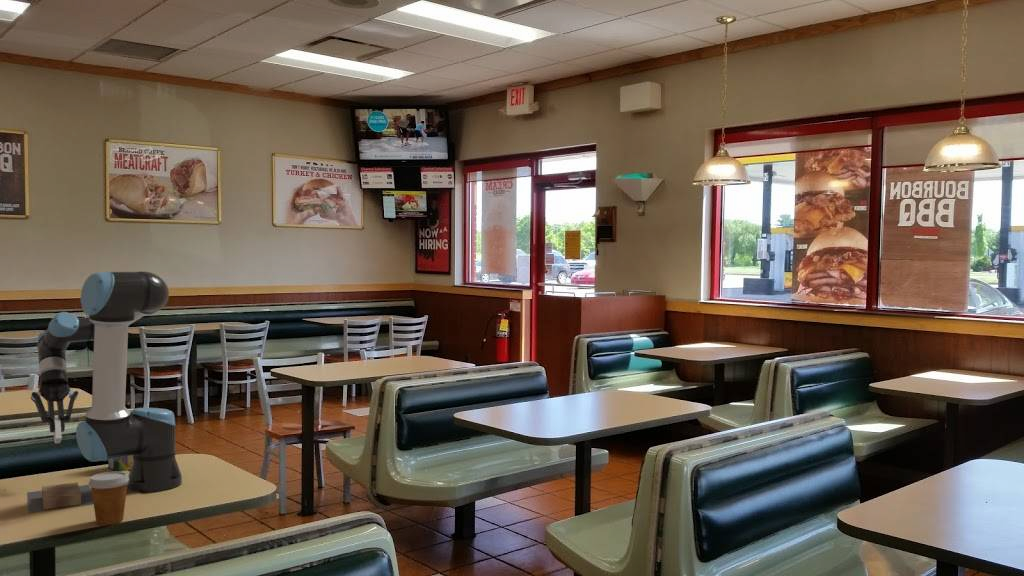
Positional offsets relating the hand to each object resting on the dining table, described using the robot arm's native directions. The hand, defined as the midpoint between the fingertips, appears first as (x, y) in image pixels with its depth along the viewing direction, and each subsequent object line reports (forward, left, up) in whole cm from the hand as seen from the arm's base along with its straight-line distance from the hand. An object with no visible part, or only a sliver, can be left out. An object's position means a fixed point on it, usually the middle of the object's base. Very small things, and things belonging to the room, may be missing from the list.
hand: (58, 440), depth 246 cm
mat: (0, +13, -14) cm, 19 cm away
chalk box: (-20, -16, -15) cm, 29 cm away
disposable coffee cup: (-10, +41, -14) cm, 44 cm away
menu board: (0, +9, -12) cm, 15 cm away
